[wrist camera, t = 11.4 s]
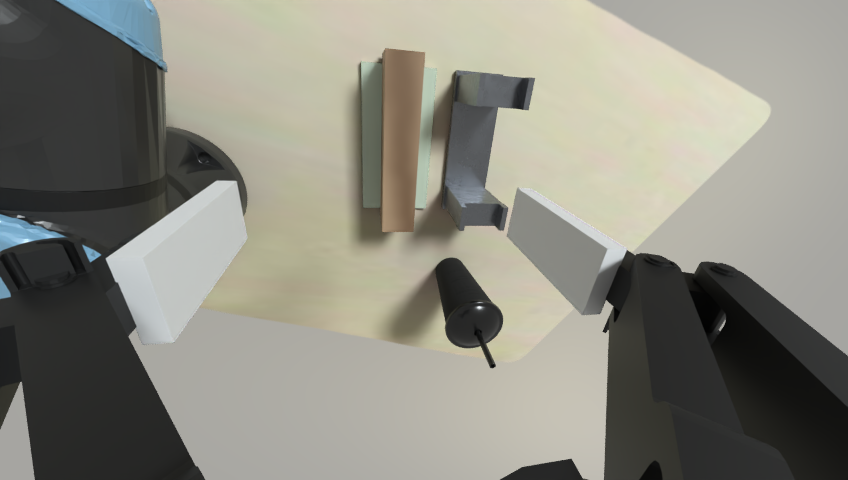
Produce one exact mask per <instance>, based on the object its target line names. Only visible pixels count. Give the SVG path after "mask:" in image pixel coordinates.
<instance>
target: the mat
mask: <svg viewBox="0 0 848 480" xmlns="http://www.w3.org/2000/svg"><path fill="white" fill-rule="evenodd" d="M436 74H437V69H436V68H426V67H424V77H423V92H422V108H421V123H420V138H419V154H418V169H417V184H416V200H415V208H426V197H427V185H428V173H429V160H430V148H431V136H432V123H433V111H434V99H435V86H436ZM361 88H362V168H363V208H380V198H381V124H382V63H373V62H362V61H361Z"/></svg>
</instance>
